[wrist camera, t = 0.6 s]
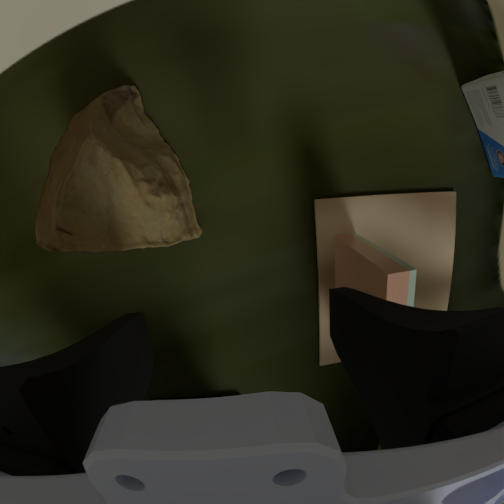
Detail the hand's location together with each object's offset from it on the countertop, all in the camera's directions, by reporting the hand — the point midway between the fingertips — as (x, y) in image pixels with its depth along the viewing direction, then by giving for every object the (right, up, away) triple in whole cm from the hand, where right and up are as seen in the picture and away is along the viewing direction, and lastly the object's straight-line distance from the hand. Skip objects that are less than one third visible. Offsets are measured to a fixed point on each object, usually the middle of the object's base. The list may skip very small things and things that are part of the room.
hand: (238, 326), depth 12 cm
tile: (+7, 0, +10) cm, 13 cm away
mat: (+11, +1, +11) cm, 15 cm away
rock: (-6, +9, +8) cm, 13 cm away
